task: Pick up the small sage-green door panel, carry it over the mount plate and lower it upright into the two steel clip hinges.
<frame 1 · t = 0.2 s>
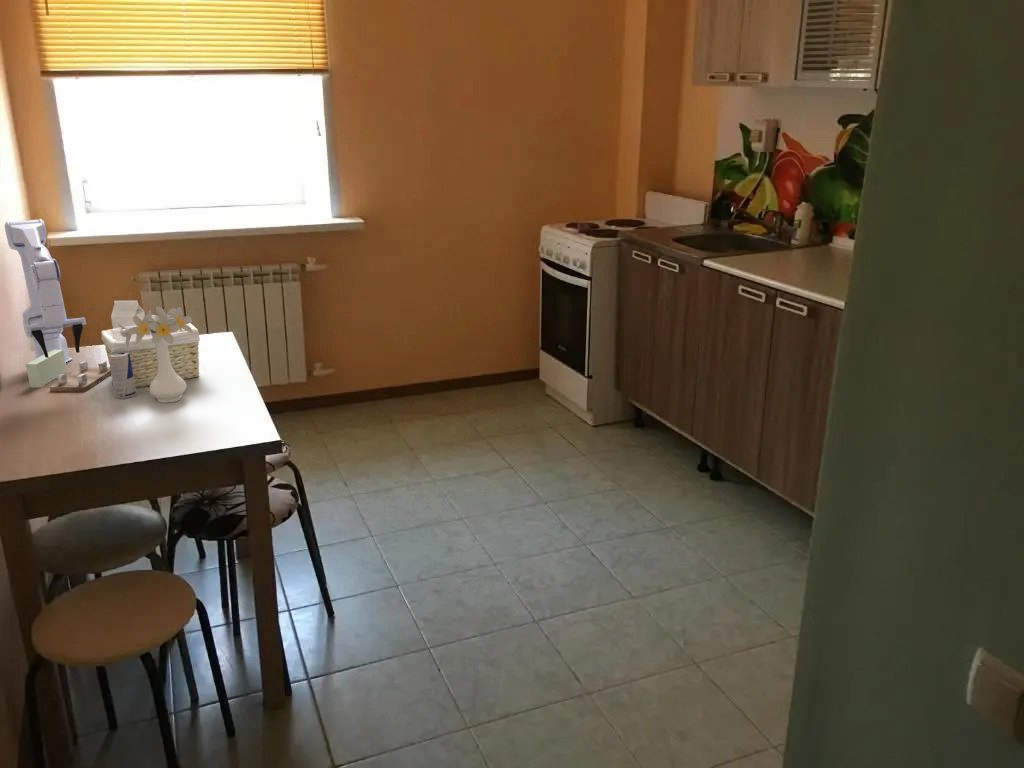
hand: (62, 354, 235), 11 cm above the table, tool pointing down, fingers open, 7 cm apart
storage basket: (157, 379, 250), on the table
milk carton: (135, 361, 265), on the table
door panel: (49, 379, 249), on the table
energy drink: (125, 396, 235), on the table
flower vase: (167, 400, 232), on the table
mount plate: (84, 380, 248), on the table
clip hinges: (83, 372, 247), on the mount plate, point 2 cm above the table
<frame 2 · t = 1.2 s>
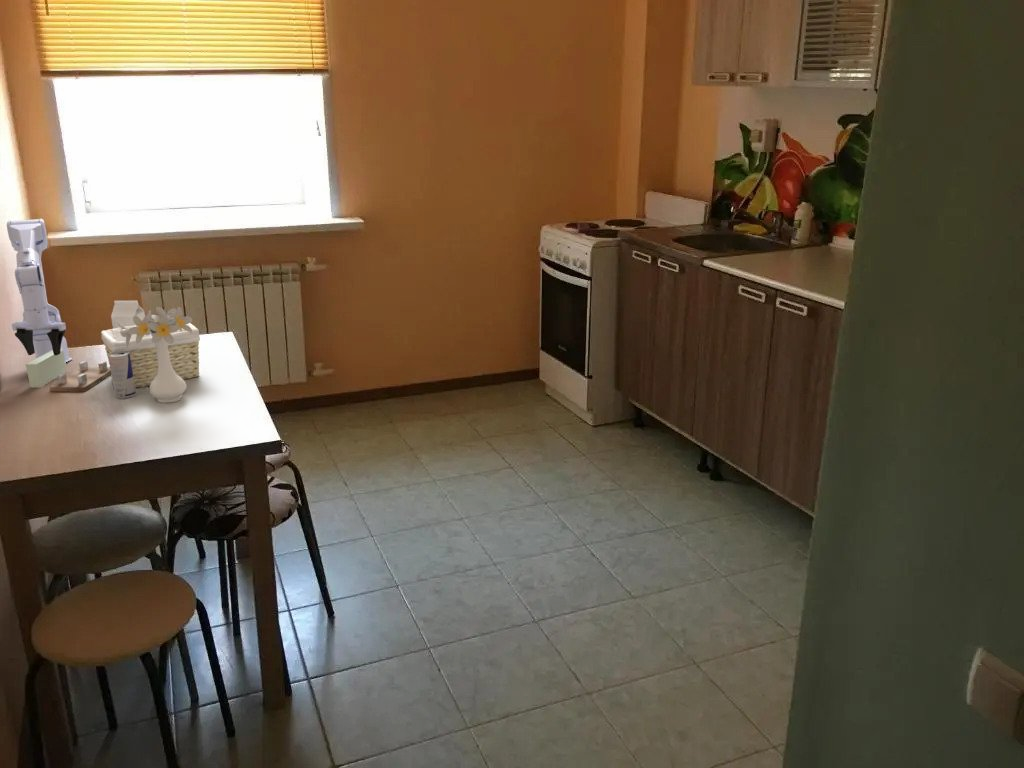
hand: (44, 354, 246), 8 cm above the table, tool pointing down, fingers open, 7 cm apart
nothing on the table moved.
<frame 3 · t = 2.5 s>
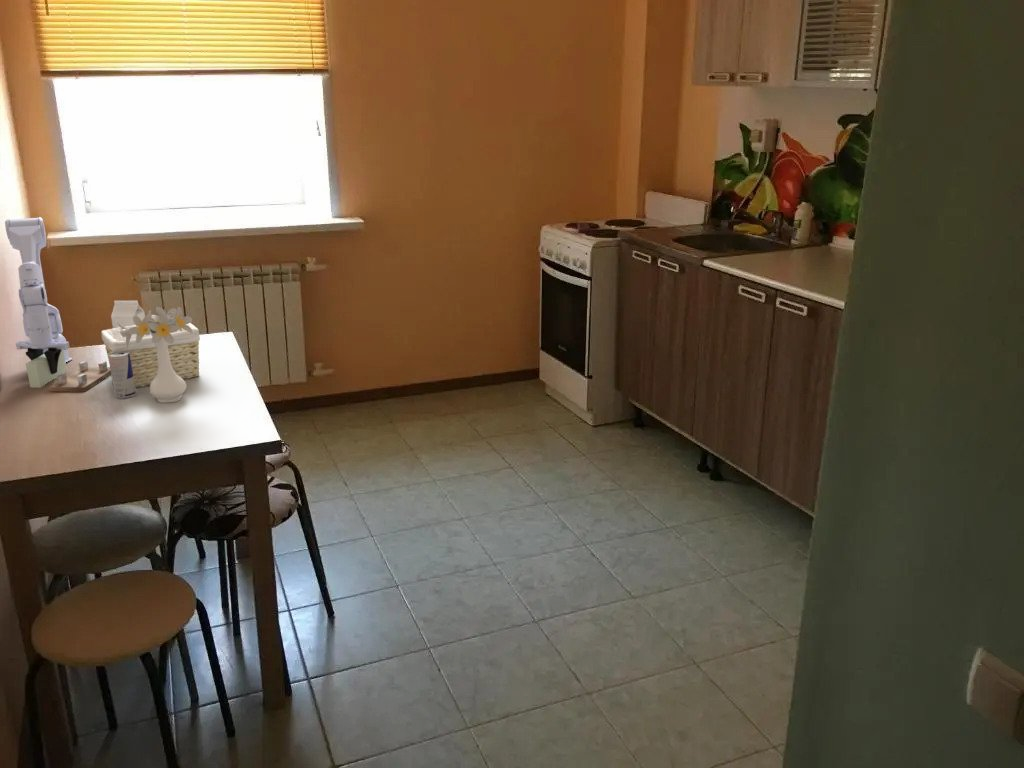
hand: (48, 372, 248), 2 cm above the table, tool pointing down, fingers closed on door panel, 3 cm apart
door panel: (49, 379, 249), on the table, touching gripper
everything else where it was.
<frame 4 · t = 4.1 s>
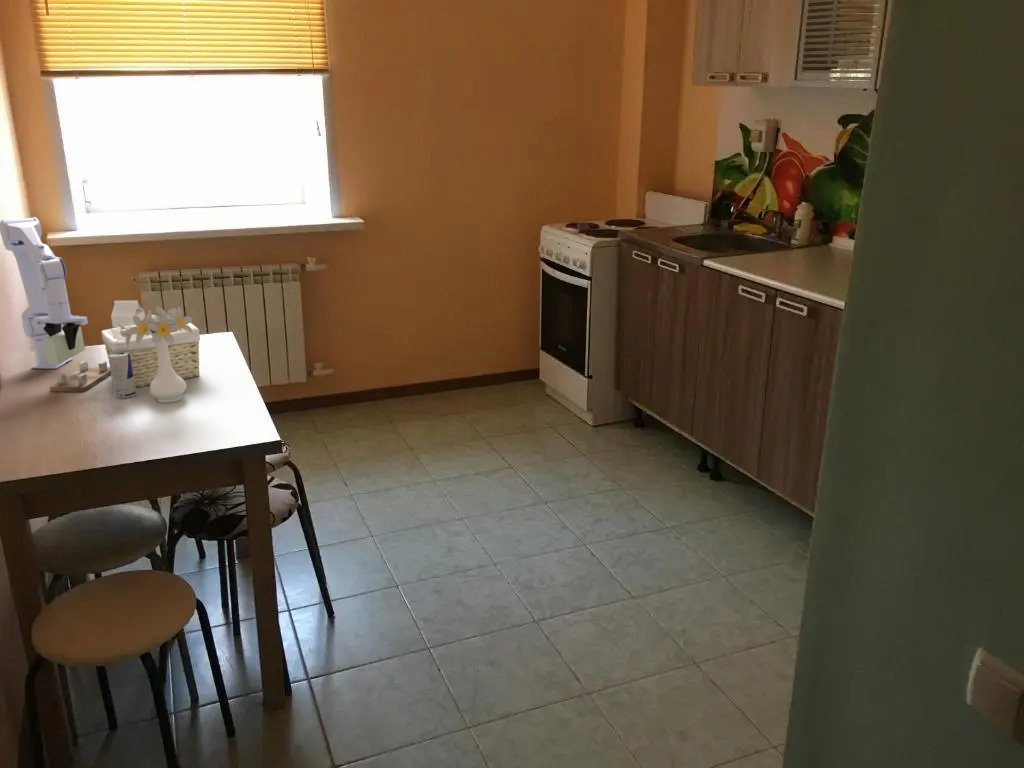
hand: (66, 348, 245), 10 cm above the table, tool pointing down, fingers closed on door panel, 3 cm apart
door panel: (67, 357, 245), point 7 cm above the table, touching gripper
everything else where it was.
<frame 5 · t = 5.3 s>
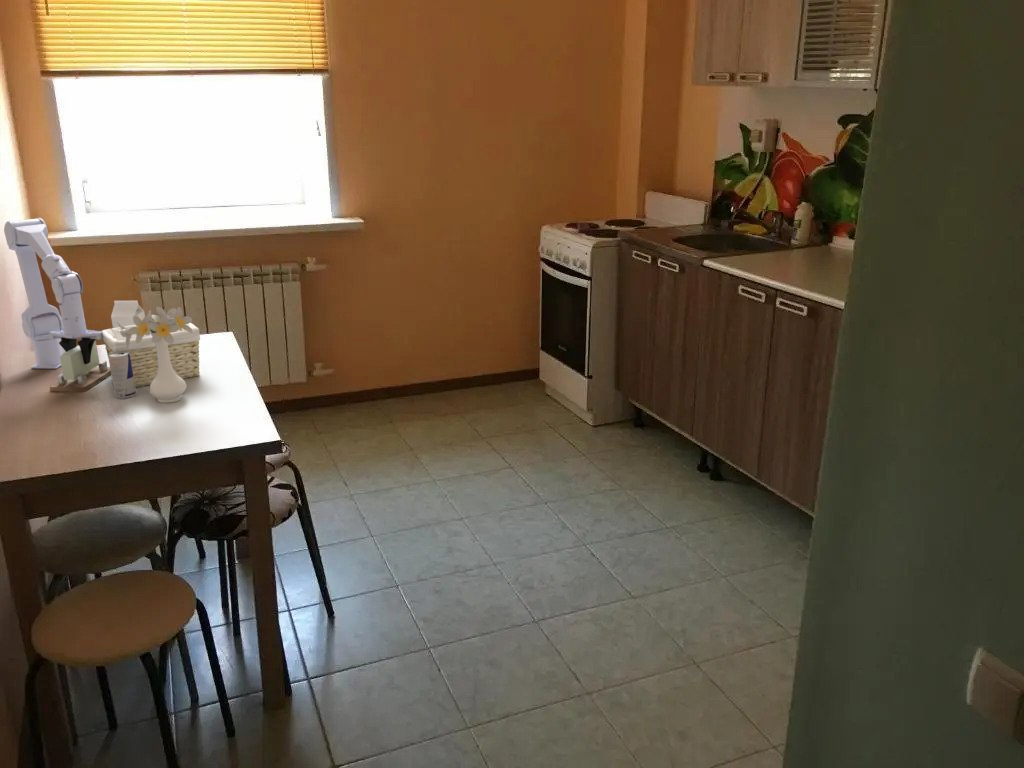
hand: (81, 363, 246), 5 cm above the table, tool pointing down, fingers closed on door panel, 3 cm apart
door panel: (82, 371, 246), point 3 cm above the table, touching gripper
everything else where it was.
when the fingers open (4 cm above the table, at t = 5.9 s): door panel stays where it is, resting on mount plate.
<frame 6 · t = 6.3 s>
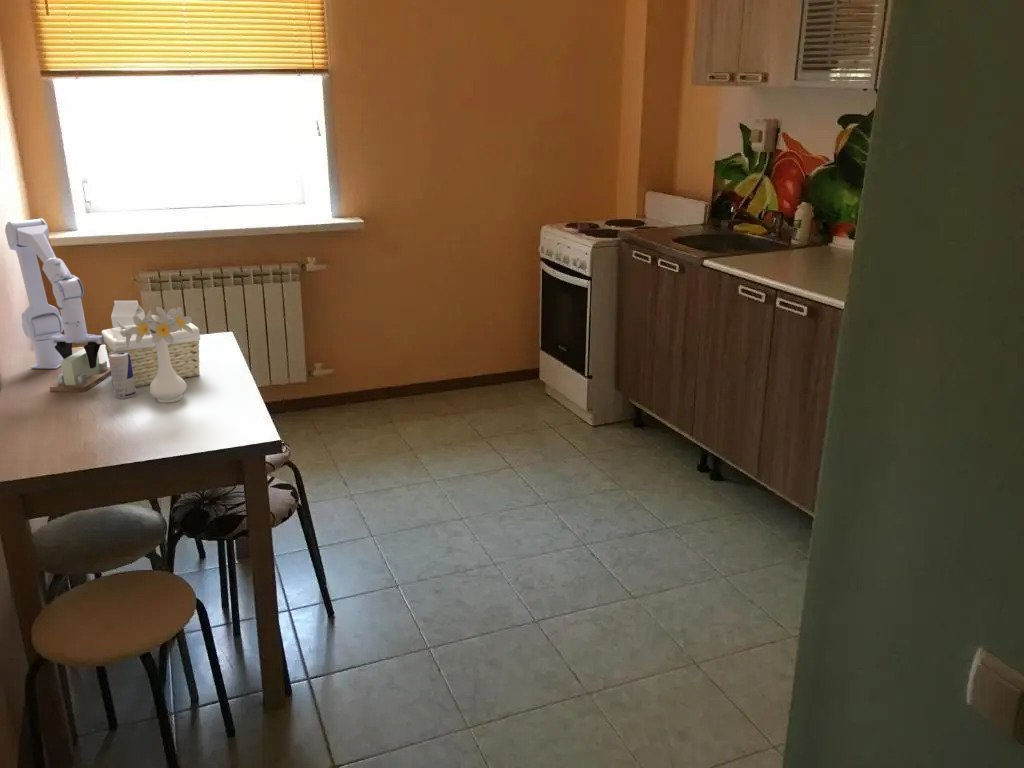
hand: (82, 367, 246), 4 cm above the table, tool pointing down, fingers open, 6 cm apart
door panel: (83, 377, 247), point 1 cm above the table, touching mount plate
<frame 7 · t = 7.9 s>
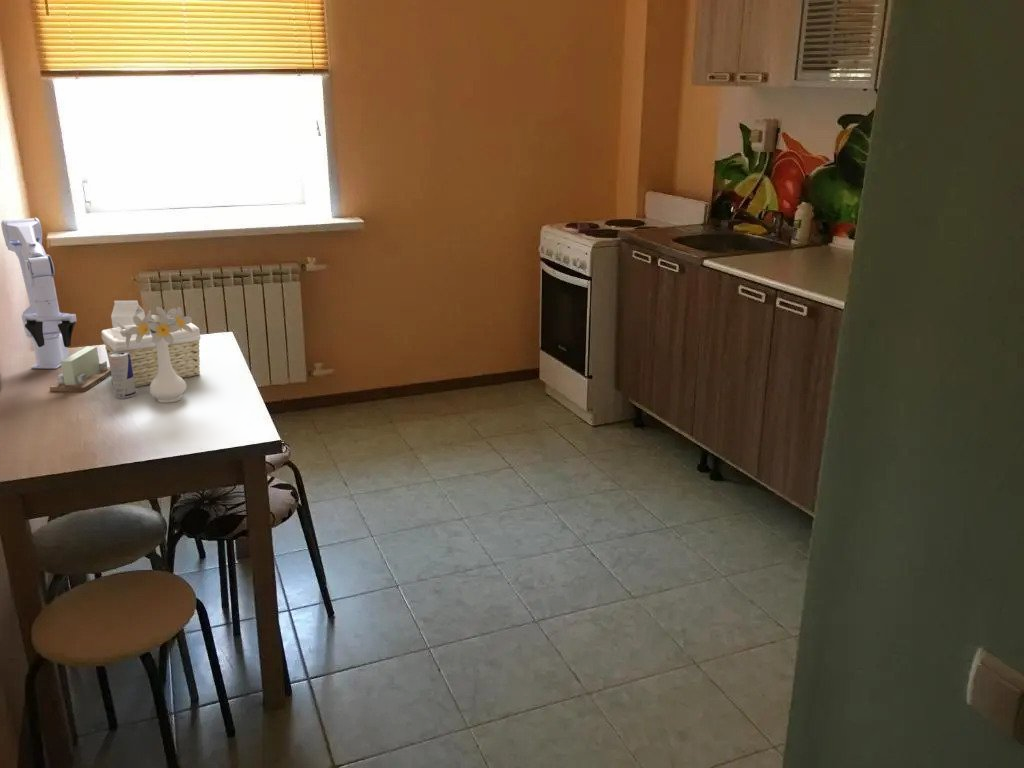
hand: (54, 346, 245), 10 cm above the table, tool pointing down, fingers open, 7 cm apart
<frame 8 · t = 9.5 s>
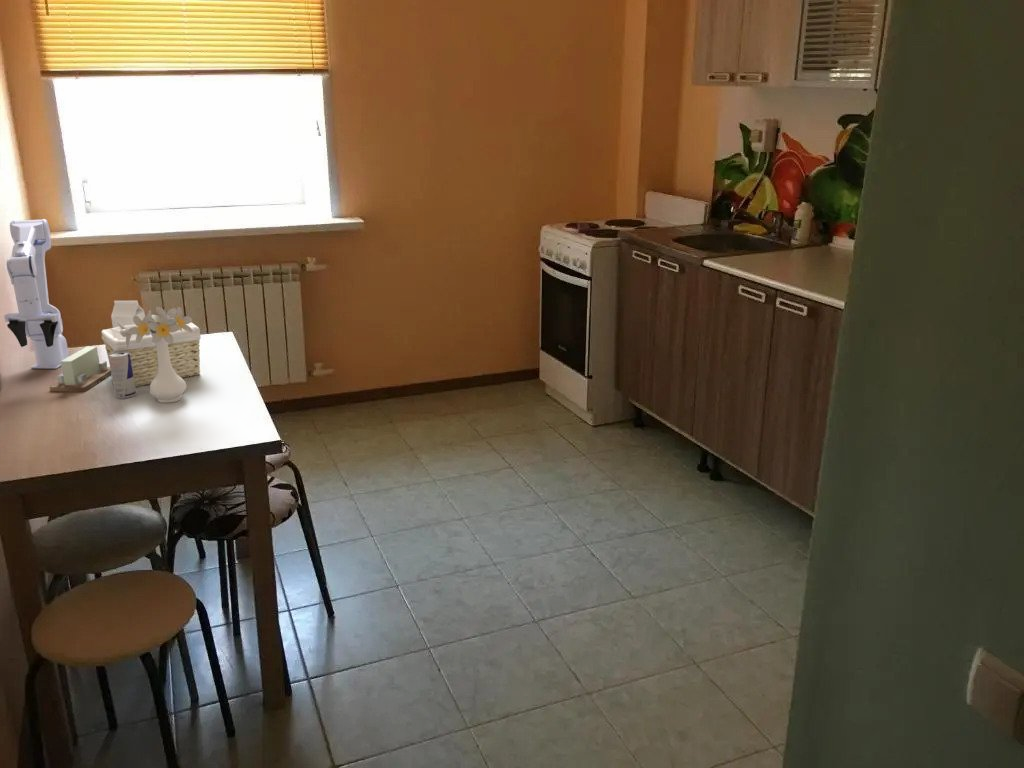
hand: (37, 345, 245), 10 cm above the table, tool pointing down, fingers open, 7 cm apart
at the end: door panel 0.3 cm off-centre on the mount plate, point 1.2 cm above the mount plate's base; door panel tilted 0°; the gripper is holding nothing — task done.
